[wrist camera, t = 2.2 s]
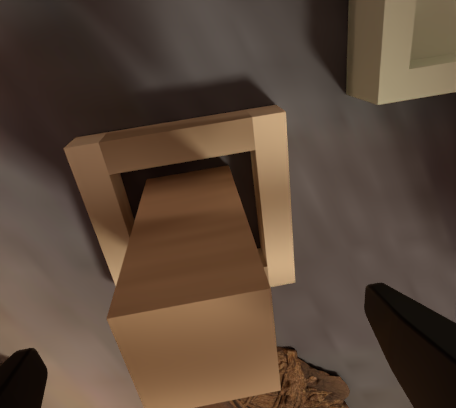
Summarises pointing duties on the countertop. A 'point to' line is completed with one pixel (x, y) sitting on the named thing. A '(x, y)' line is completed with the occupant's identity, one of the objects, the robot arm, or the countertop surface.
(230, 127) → the birch stand
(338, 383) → the wooden fragment
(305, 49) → the countertop surface
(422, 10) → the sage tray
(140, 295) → the wooden block
